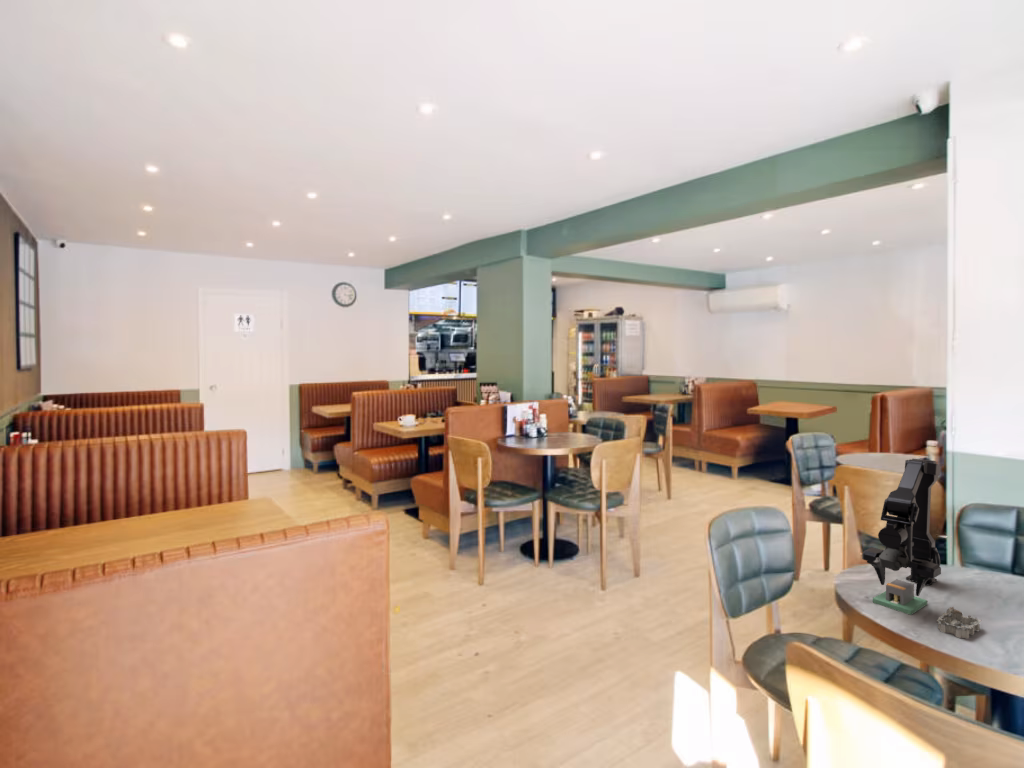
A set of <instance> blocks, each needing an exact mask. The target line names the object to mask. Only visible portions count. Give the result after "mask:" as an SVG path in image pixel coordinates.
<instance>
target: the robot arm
mask: <svg viewBox="0 0 1024 768" xmlns="http://www.w3.org/2000/svg"><path fill="white" fill-rule="evenodd" d="M940 475H941V465H940V464H938V463H937V462H936V460H930V459H920V458H912V459H910V458H909V459H906V460H905V462H904V471H903V473H902V477H901V479H900V482H898V483H899V484H898V486H897V488H896V489H894V490H892V491H890V492H889V494H888V496H887V498H885V499H884V502H883V508H882V511H881V516H880V521H884V522H886V523H885V526H884V527H883V528H881V529H880V530H879V532H878V534H877V537H878V541H879V542H880V543H881V544H882V545H883V546H885V549H881V548H876V547H872V546H871V547H868V548H867V549H865V550H863V551H862V552H861V553H862V555H861V559H862V560H863V561H866V562H867V564H870V566H872V568H874V570H875V572H876V575H877V577H878V579H879V583H880V585H881V586H884V585H885V581H886V569H888V570H891V571H894V572H898V571H900V569H901V568H904V569H907V568H909V569H910V574H909V575H908V576H906V577H905V579H906V580H908V581H913V582H915V583H916V586H915V587H916V588H915V597H918V596H920V594H921V592H922V591H923V589H924V588H925V585H926V586H930V585H932V584H934V583H936V582H937V580H938V579H937V577H939V576H940V575H941V574H942V568H941V557H940V554H939V551H938V549H937V547H936V541H935V539H934V537H933V536H932V535H931V533H930V525H931V503H932V502H931V498H932V487H933V486H934V485H935V484H936V482H937V481H938V479H939V476H940Z"/></svg>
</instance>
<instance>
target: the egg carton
mask: <svg viewBox="0 0 1024 768" xmlns="http://www.w3.org/2000/svg"><path fill="white" fill-rule="evenodd" d="M981 622H982V619H979V618H977V617H972V615H967V616H964V615H963V612H962V611H960V610H959V609H955V607H954V606H951V607H949V608H948V609H946V612H944V613H943V614H942V615H940V616H938V619H937V620H936V623H937V624H938V626H937V629H939V630H940V632H941V633H945V634H947V633H949V634H952V635H955V637H956V638H958V639H969V638H970V635H971V636H974V635H975V631H977V632H979V631H980V623H981Z"/></svg>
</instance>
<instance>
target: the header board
mask: <svg viewBox="0 0 1024 768" xmlns="http://www.w3.org/2000/svg"><path fill="white" fill-rule="evenodd" d="M872 603H874V604H876V605H880V606H883V607H886V608H889V609H892V610H895V611H898V612H900V611H901V613H904V614H907V615H913V614H914V613H916V612H918V611H919V610H921V609H922V608H924V607H925V606H927V605H928V600H927V599H925V598H921V597H918V596H916V595H914V599H913V600H911V601H910V602H908V603H907V604H905V605H900V596H898V595H895V594H894V598H893V599H891V600H889V601H888V600H886V590H885V591H883V592H881V593H880V594H878V595H876V596H874V597H873V598H872Z"/></svg>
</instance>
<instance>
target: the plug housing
mask: <svg viewBox="0 0 1024 768" xmlns="http://www.w3.org/2000/svg"><path fill="white" fill-rule="evenodd" d="M885 591H886V600H888V601H889V600H891V599H893V598H894V594H895V595H898V596H900V605H905V604H907V603H908V602H910V601H911V600H913V599H914V596H915V584H914V583H911V582H907V581H904V580H902V579H898V578H896V579H895V580H893V581H891V582H887V583H886V585H885Z"/></svg>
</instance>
